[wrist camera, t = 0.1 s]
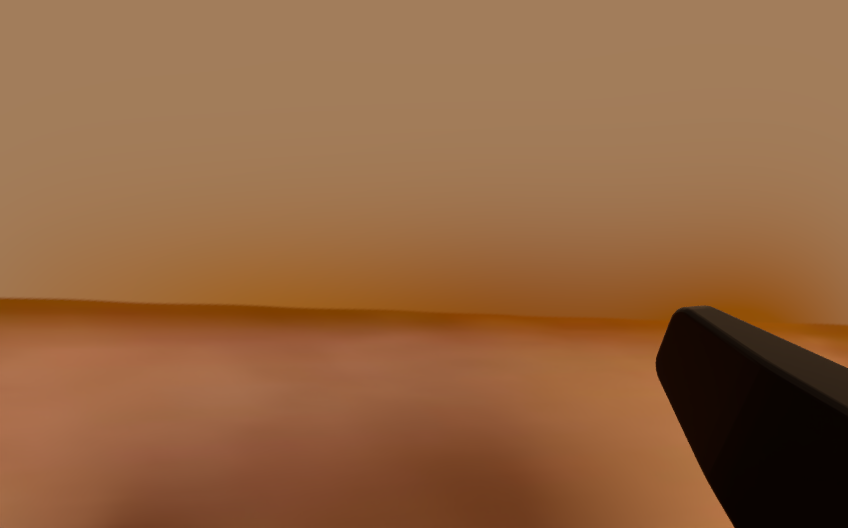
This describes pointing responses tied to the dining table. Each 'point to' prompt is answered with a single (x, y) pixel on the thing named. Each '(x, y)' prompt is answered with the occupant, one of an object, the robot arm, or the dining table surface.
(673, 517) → the dining table surface
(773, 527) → the robot arm
